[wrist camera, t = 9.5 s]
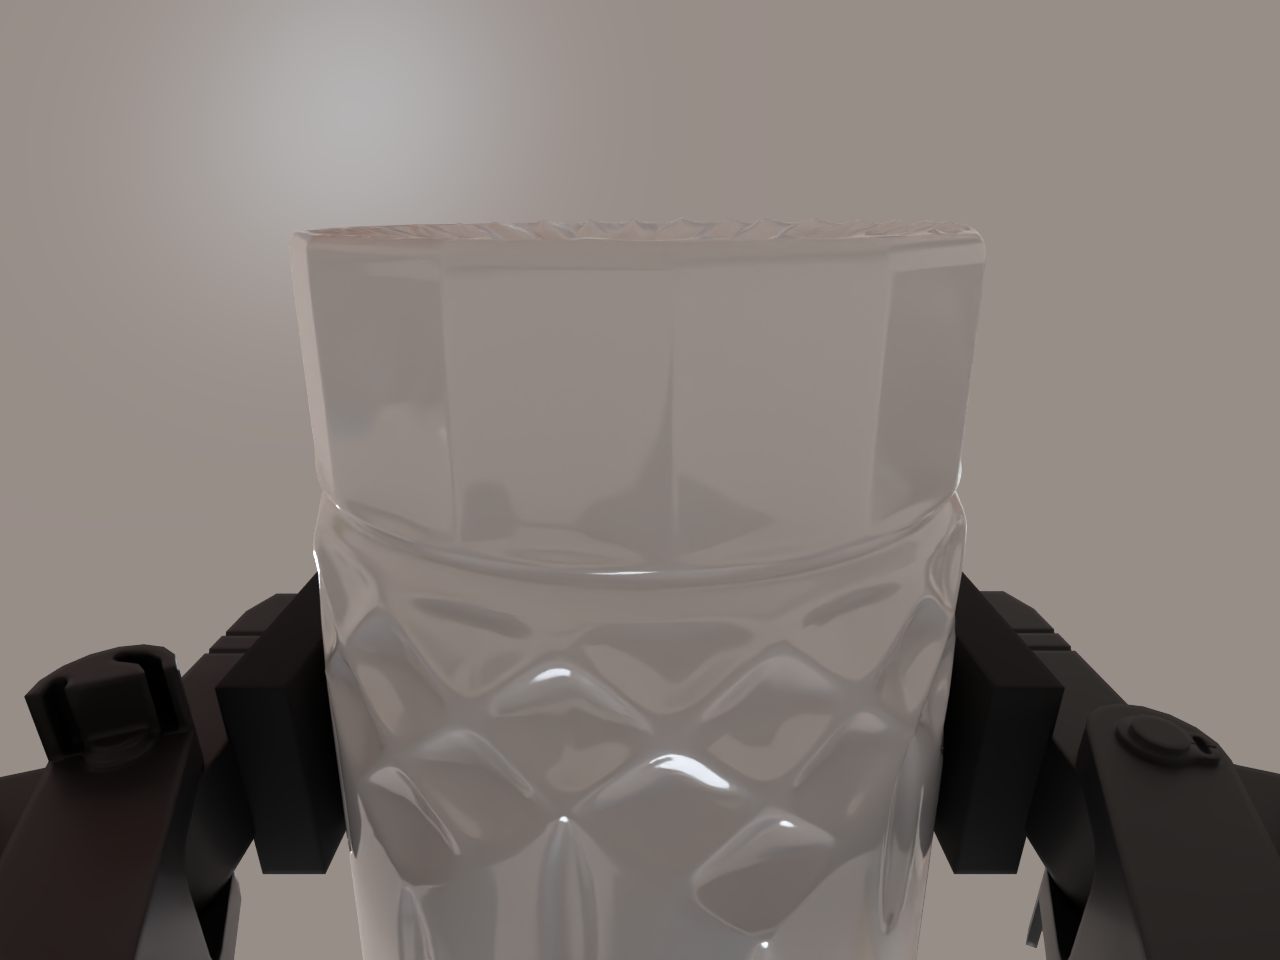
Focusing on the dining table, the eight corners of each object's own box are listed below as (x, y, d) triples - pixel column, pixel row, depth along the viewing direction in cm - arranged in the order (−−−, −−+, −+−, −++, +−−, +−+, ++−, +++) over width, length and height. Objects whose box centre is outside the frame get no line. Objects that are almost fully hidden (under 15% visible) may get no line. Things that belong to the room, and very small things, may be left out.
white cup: (1342, 227, 5) (1046, 1109, 9) (796, 215, 12) (760, 701, 16) (-26, 239, 3) (346, 1404, 6) (287, 217, 10) (381, 778, 13)
